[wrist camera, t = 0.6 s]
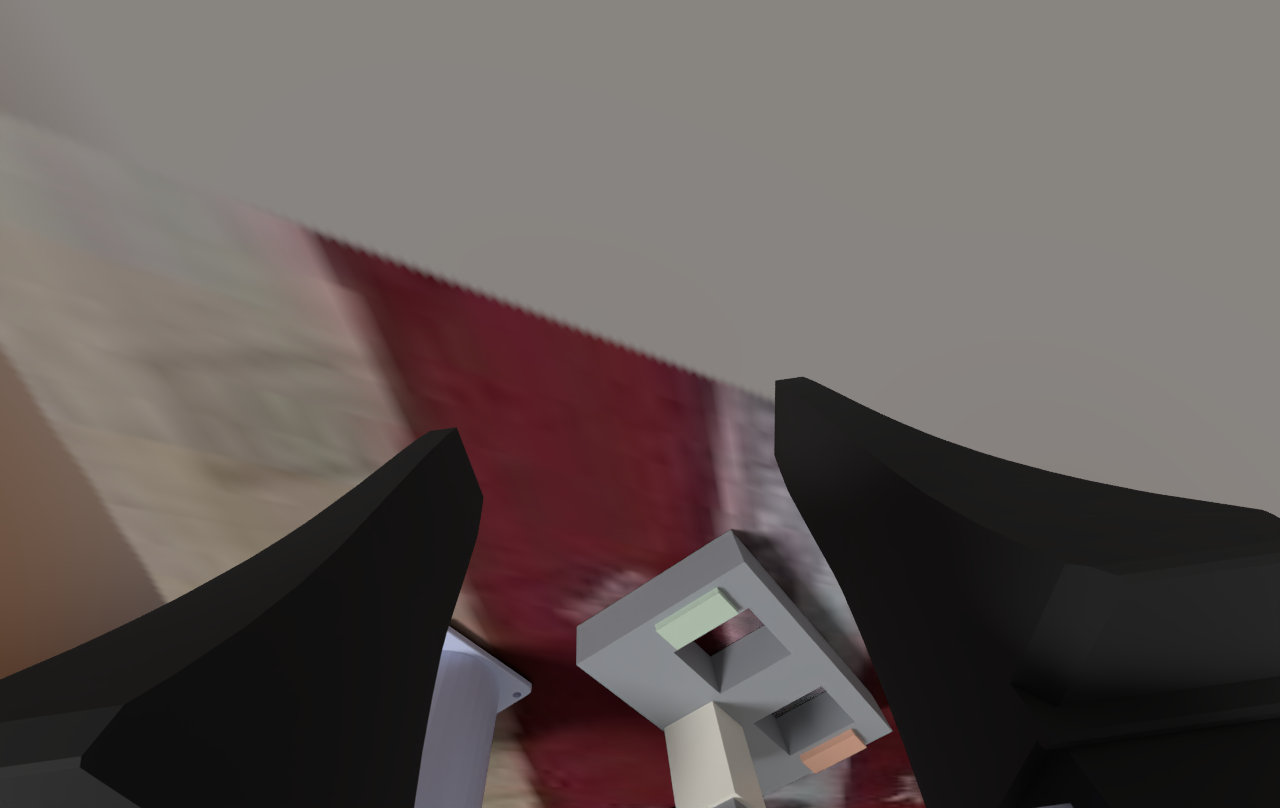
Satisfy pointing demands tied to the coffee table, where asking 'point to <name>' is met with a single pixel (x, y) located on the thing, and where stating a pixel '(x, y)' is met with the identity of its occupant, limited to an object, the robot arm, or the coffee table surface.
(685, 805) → the plug
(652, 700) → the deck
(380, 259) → the coffee table surface
